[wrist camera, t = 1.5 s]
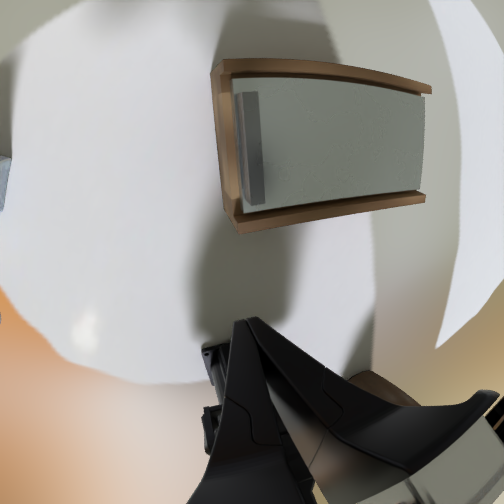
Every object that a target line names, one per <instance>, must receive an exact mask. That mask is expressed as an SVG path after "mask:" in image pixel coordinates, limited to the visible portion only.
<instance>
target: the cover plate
mask: <svg viewBox="0 0 504 504" xmlns="http://www.w3.org/2000/svg"><path fill="white" fill-rule="evenodd" d="M229 82H230V94H231V106H232V118H233V129H234V141H235V152H236V163H237V175H238V186H239V197H240V207H241V210H242V211H243V213H249V212H254V211H260V210H266V209H273V208H279V207H285V206H292V205H298V204H305V203H312V202H318V201H326V200H333V199H340V198H348V197H355V196H363V195H372V194H380V193H389V192H398V191H407V190H417V189H420V183H421V174H422V163H423V149H424V126H425V98H424V97H421V96H417V95H413V94H409V93H405V92H400V91H396V90H391V89H386V88H381V87H375V86H369V85H363V84H356V83H348V82H340V81H331V80H319V79H304V78H239V79H231V80H230V81H229Z"/></svg>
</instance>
